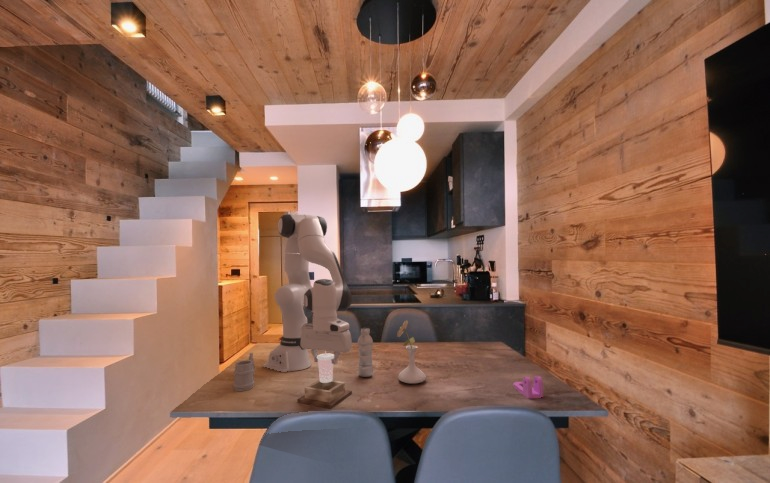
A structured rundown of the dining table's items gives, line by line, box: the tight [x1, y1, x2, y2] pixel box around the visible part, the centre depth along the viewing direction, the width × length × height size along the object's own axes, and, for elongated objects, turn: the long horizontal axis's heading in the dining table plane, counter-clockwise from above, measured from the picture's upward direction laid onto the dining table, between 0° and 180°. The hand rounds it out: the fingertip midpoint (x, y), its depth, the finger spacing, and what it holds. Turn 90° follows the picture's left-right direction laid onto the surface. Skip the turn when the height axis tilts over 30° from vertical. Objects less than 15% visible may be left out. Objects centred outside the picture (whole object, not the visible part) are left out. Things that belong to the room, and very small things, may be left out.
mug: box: [232, 352, 256, 392], centre depth 140 cm, size 8×12×12 cm, turn 174°
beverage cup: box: [317, 351, 335, 383], centre depth 128 cm, size 6×6×14 cm
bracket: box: [513, 375, 544, 400], centre depth 131 cm, size 13×6×7 cm, turn 7°
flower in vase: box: [396, 320, 427, 385], centre depth 143 cm, size 13×11×25 cm
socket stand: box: [296, 379, 353, 409], centre depth 127 cm, size 14×14×4 cm
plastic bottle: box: [357, 327, 375, 378], centre depth 150 cm, size 6×7×20 cm
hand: (325, 362), depth 128 cm, fingers closed on beverage cup, 6 cm apart
